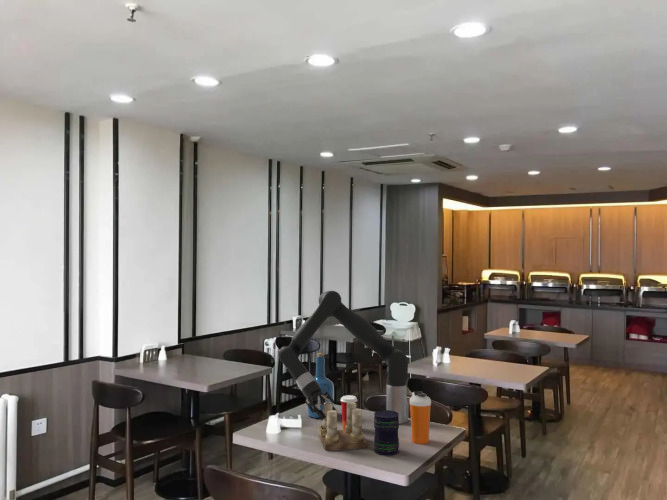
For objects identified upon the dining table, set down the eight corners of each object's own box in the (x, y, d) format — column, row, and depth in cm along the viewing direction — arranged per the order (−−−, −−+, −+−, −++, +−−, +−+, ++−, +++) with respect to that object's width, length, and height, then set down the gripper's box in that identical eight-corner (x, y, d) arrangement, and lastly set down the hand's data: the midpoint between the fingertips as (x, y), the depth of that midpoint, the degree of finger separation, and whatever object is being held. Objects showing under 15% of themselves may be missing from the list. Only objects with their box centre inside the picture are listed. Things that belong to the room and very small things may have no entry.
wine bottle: (333, 411, 275) (333, 350, 275) (334, 418, 261) (334, 355, 262) (305, 411, 274) (305, 351, 274) (305, 419, 261) (305, 355, 261)
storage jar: (404, 453, 216) (404, 406, 216) (384, 457, 210) (384, 410, 211) (388, 445, 224) (388, 401, 224) (368, 450, 219) (368, 404, 219)
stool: (357, 434, 238) (357, 401, 238) (366, 447, 221) (366, 411, 222) (318, 436, 235) (318, 403, 235) (325, 450, 218) (325, 414, 218)
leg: (329, 430, 235) (330, 402, 235) (333, 433, 231) (334, 405, 231) (321, 432, 233) (321, 404, 233) (325, 435, 230) (325, 406, 229)
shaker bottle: (417, 446, 223) (417, 396, 224) (405, 439, 231) (405, 392, 232) (435, 442, 227) (435, 394, 228) (422, 436, 235) (422, 389, 236)
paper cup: (358, 426, 250) (358, 395, 250) (357, 431, 242) (357, 399, 242) (341, 425, 251) (341, 394, 251) (339, 431, 243) (339, 399, 243)
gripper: (303, 383, 231) (325, 414, 224) (322, 377, 243) (344, 407, 236) (293, 394, 234) (315, 425, 227) (313, 387, 246) (334, 417, 239)
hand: (330, 416), depth 232 cm, fingers open, 8 cm apart
